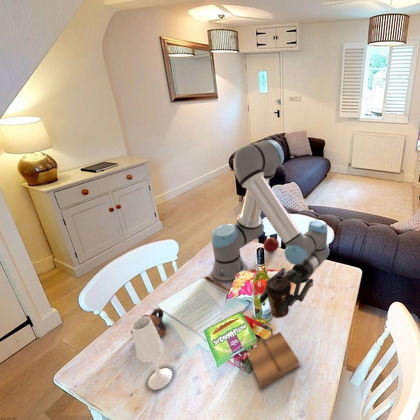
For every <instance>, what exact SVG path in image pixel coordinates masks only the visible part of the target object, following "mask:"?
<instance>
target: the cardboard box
mask: <svg viewBox="0 0 420 420" xmlns="http://www.w3.org/2000/svg"><path fill="white" fill-rule="evenodd" d="M257 343H258V344H257ZM257 343H256V344H257V347H255V348H252V349H250V350H249V352H250V353H249V352H248V353H249V358H250V361H251V364H252V365H251V364H250V366H251V368H252V370H253V372H254V375H255V376H256V378H257V381H258V383H259V385H260V387H261V388H262V389H263V388H265V387H266V386H268V385H270V384H271V383H273V382H275V381H276V380H278V379H280V378H282V377H283V376H285V375H287V374H288V373H291V372H292V371H293V370H295V369H296V368H298V367H299V364H300V363H299V359H298V357H297V356H296V354H295V352H294V351H293V350H292V348H291V346H290V345H289V343H288V342H287V339H285V337H284V336H283V334H282V333H281V331H279V332H277V333H274V334H272V335H270V336H269V337H267V338H265V339H263V340H261V341H259V342H257Z"/></svg>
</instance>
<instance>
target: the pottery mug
mask: <svg viewBox="0 0 420 420" xmlns="http://www.w3.org/2000/svg"><path fill="white" fill-rule="evenodd" d="M145 316H147V317H150V318H151V320H152V322H153V324H154V326H155V328H156V329H157V328H159V331H157V332H158V334H159V336H160V338H162V337H163V336H164V334H165V333H166V329H167V327H166V324H165V323H164V321H163V317H164V310H163V309H162V308H156V309H154V310H153V311H152V312H151V313H150V314H143V315H142V316H140V317H139V318H141V317H145ZM130 334H131V335H132V336H133V333H132V328H131V330H130Z"/></svg>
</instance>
